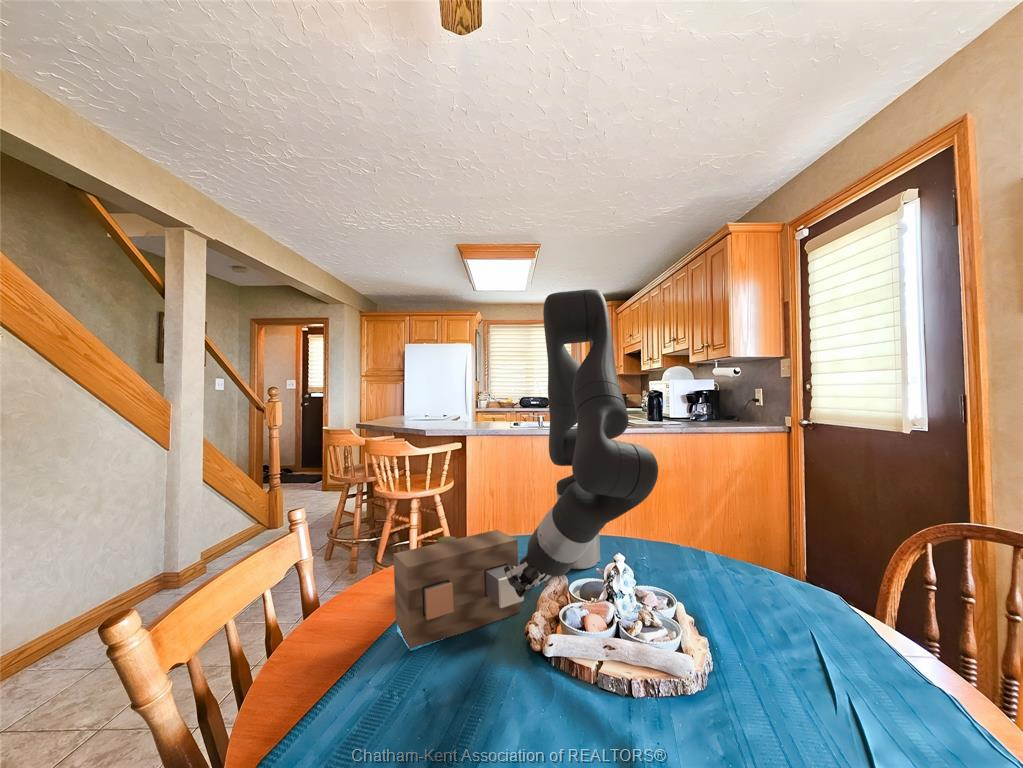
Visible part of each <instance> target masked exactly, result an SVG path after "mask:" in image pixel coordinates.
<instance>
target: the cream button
mask: <svg viewBox="0 0 1023 768" xmlns="http://www.w3.org/2000/svg"><path fill="white" fill-rule="evenodd" d="M505 567H506V565H505V564H503V565H500V566H496V567H492V568H489V569H485V570H484V576H485V594H486V595H487V596H489V597H490V598H491V599H492V600H494V601H495V602H496V603H498V604H499V607H500V608H504V607H507V606H509V605H512V604H515V603H518V602H520V603H522V602H524V600H525V596H524V597H521V598H520V597H519V596H518V595H517V593H516V591H515V588H514V587H513V586H511V585H510V583H509V581H508V579H507V576H506V574H505V571H504V568H505Z"/></svg>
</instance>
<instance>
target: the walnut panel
mask: <svg viewBox="0 0 1023 768" xmlns="http://www.w3.org/2000/svg"><path fill="white" fill-rule="evenodd" d="M503 564H505V565H506V566H511V567H513V566H515V567H517V566H519V546H518V539H517V538H515V537H513V536H511V535H509V534H507V533H505V532H503V531H501V530H499V529H494V530H490V531H485V532H482V533H477V534H473V535H469V536H463V537H460V538H456V539H455V540H450V541H446V542H442V543H437V544H435V543H434V544H430V545H425V546H420V547H417V548H411V549H408V550H402V551H398V552H395V553H393V572H394V573H393V576H394V578H393V580H394V581H393V582H394V583H393V584H394V605H395V606H394V607H395V610H394V611H395V612H394V613H395V624H396V623H397V624H398V626H399V628H400V630H401V633H402V635H403V638H404V639H405V641H406V643H407V644H408V646H409V648H410V649H411V648H414V647H417V646H420V645H424V644H427V643H430V642H434V641H437V640H441V639H444V638H448V637H451V636H453V637H455V636H454V635H456V636H458V635H457V634H459V635H461V633H462V634H464V633H467V632H470V631H472V630H475V629H478V628H481V627H484V626H485V625H486V626H487V625H490V624H492V623H495V622H498V621H500V620H503V619H505V618H508V617H511V616H514V615H516V614H519V613H521V602H518V603H515V604H512V605H509V606H507V607H504V608H500V607H499V604H498V603H496V602H495V601H494V600H492V599H491V598H490V597H489V596H487V595H486V594H485V576H484V570H485V569H489V568H492V567H496V566H500V565H503ZM443 581H447V582H449V583H452V584H453V608H454V612H451V613H448V614H445V615H442V616H439V617H436V618H433V619H430V620H427V619H426V615H425V614H424V613H423V594H422V587H425V586H429V585H432V584H436V583H439V582H443ZM451 638H452V637H451ZM448 639H449V638H448Z"/></svg>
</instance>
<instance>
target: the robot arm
mask: <svg viewBox="0 0 1023 768" xmlns="http://www.w3.org/2000/svg"><path fill="white" fill-rule="evenodd" d="M542 312H543V315H542V317H543V327H544V336H545V345H546V346H545V347H546V355H547V401H548V413H549V432H548V433H549V435H548V453H549V459H550V461H551V463H553V464H554V466H555V465H556V466H559V467H571V471H572V474H571V475H568V476H566V477H564V478H562V479H560V480H558V481H557V482H556V488H555V489H556V502H555V504H554V505H553V506H552V507H551V508H550V510H548V511H547V512H546V513H545V515H544V517H543V518H542V520H541V521H540V522H539V524H538V525H537V527H536V528H535V530H534V531H533V533H532V534H531V536H530V537H529V540H528V542H527V551H526V552H527V553H526V555H525V556H524V557H522V558H521V559H520V561H519V564H518V566H517V567H515V566H513V567H511V566H506V567H505V568H504V571H505V574H506V576H507V579H508V581H509V583H510V585H511V586H513V587H514V588H515V591H516V593H517V595H518V596H519V597H520V598H521V597H524V598H525V597H527V596H528V595H530V593H531V592H532V590H533V589H534V588H535V587H538V586H540V584H542V583H543V582H545V583H547V582H549V581H550V580H551V579H553V578H555V577H560V576H563V575H566V573H568V572H569V571H570V570H571V569H573V570H584V569H591V568H593V567H595V566H596V565H597V564H598V563H599V562H601V549H600V548H601V546H600V532H601V531H602V529H603V528H604V527H605V526H606V525H607V524H608V523H610V522H611V521H614V520H616V519H618V518H619V517H621V516H623V515H625V514H626V513H627V512H629V511H631V510H632V509H634V508H636V507H637V506H639V505H640V504H641V503H642V502H644V501H645V500H646V499H647V498H648V497H649V496H650V494H651V493H652V491H653V490H654V488H655V486H656V484H657V481H658V477H659V465H658V461H657V458H656V457H655V455H654V454H653V452H652V451H650V450H649V448H646V447H644V446H642V445H638V444H636V443H630V442H626V441H620V440H615V438H618V437H620V436H621V435H623V434H624V433H625V432H626V430H627V429H628V427H629V420H630V419H629V413H628V410H627V405H626V402H625V400H624V396H623V395H624V394H623V393H622V389H621V384H620V382H619V379H618V374H617V367H616V361H615V350H614V343H613V342H614V341H613V335H612V334H613V333H612V329H611V327H612V326H611V322H610V321H611V320H610V314H609V308H608V305H607V301H606V298H605V296H604V295H603V293H602V292H601V291H599V290H598V289H592V288H591V289H582V290H579V289H577V290H569V291H568V290H567V291H558V292H554V293H550V294H549V295H547V296H546V298H545V300H544V302H543V311H542ZM590 342H592V344H591V347H590V350H589V351H588V353H587V355H586V356H585V358H584V360H583V361H582V362H581V364H580V363H579V362H578V361H577V360H576V359H575V358H574V357H573V356H572V355H571V354H570V352H569V351H568V349H567V348H566V346H565V345H570V344H580V343H590ZM576 424H577V426H576V428H573V427H574V426H575V425H576Z"/></svg>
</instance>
